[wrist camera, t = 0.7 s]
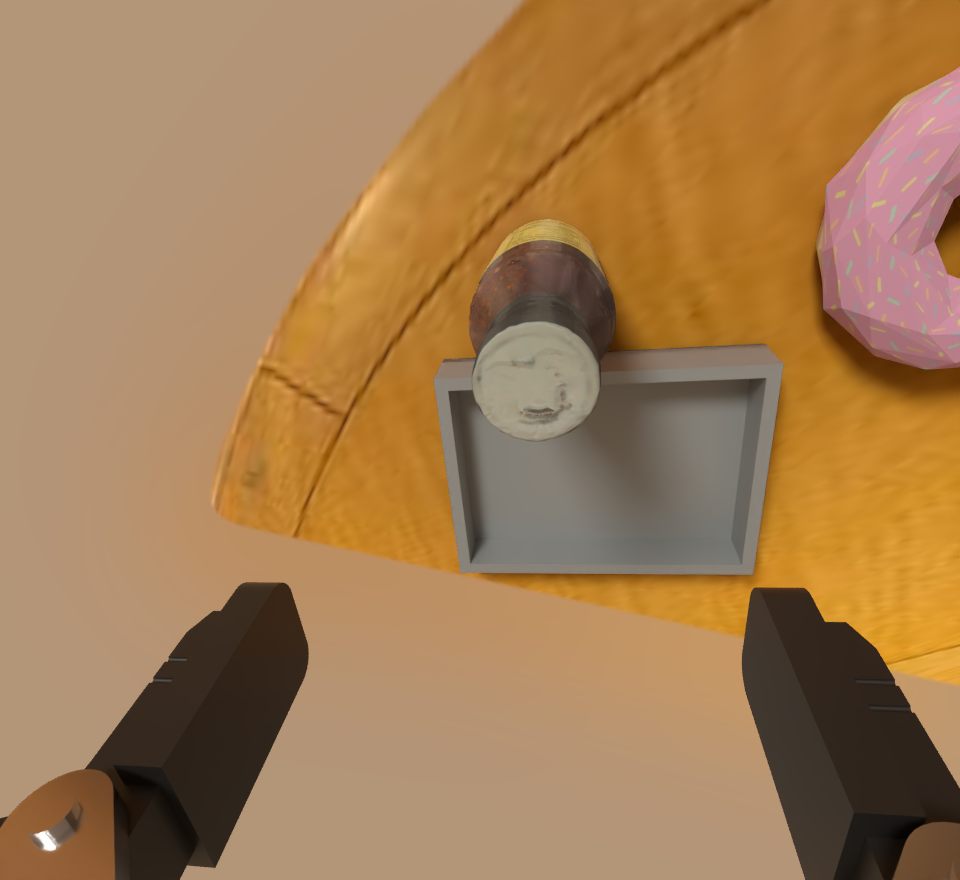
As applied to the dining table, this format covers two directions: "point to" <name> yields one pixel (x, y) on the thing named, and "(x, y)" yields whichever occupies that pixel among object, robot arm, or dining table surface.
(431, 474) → the dining table surface
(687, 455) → the tray
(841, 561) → the dining table surface
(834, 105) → the dining table surface
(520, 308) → the sauce bottle
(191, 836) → the robot arm
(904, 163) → the donut
